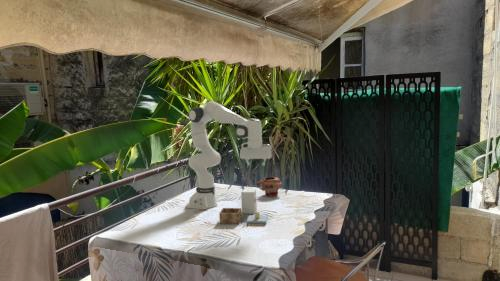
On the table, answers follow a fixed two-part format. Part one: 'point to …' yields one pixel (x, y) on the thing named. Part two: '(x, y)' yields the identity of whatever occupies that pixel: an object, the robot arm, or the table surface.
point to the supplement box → (249, 201)
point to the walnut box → (230, 216)
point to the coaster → (256, 224)
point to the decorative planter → (270, 186)
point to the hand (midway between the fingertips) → (256, 165)
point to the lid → (257, 218)
